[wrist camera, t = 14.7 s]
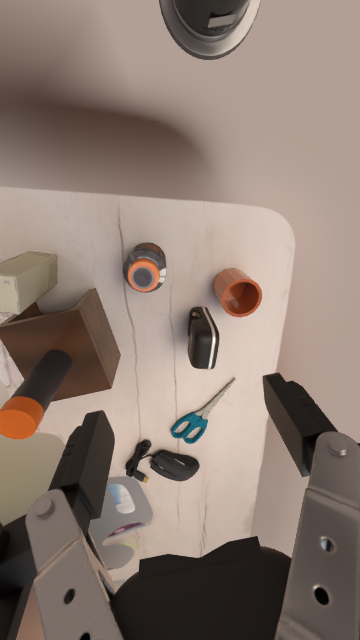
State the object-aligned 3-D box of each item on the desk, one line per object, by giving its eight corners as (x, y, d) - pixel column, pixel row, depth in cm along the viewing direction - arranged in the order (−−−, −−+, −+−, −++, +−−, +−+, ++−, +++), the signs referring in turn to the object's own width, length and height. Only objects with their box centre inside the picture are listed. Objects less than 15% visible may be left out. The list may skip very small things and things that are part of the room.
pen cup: (210, 272, 44) (219, 283, 37) (245, 264, 43) (260, 274, 37) (215, 305, 46) (224, 320, 40) (249, 297, 46) (263, 312, 40)
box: (28, 250, 40) (-26, 268, 28) (57, 254, 41) (16, 274, 29) (31, 282, 42) (-19, 311, 30) (58, 286, 43) (19, 316, 31)
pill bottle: (171, 252, 42) (175, 267, 31) (156, 283, 44) (155, 307, 33) (138, 235, 40) (131, 244, 30) (124, 268, 42) (112, 287, 32)
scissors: (168, 434, 57) (223, 372, 51) (168, 431, 58) (222, 370, 52) (192, 445, 59) (247, 386, 53) (192, 442, 60) (246, 383, 54)
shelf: (28, 303, 44) (-6, 328, 34) (95, 287, 43) (78, 309, 34) (61, 368, 49) (39, 404, 40) (120, 355, 49) (111, 388, 40)
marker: (37, 352, 36) (-15, 414, 26) (65, 346, 36) (24, 405, 25) (50, 375, 38) (5, 442, 27) (76, 369, 38) (42, 434, 27)
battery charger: (187, 304, 46) (194, 332, 35) (207, 305, 46) (221, 334, 36) (183, 338, 49) (189, 374, 38) (202, 339, 49) (214, 374, 38)
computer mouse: (177, 488, 67) (178, 504, 63) (118, 468, 62) (115, 484, 59) (203, 460, 63) (206, 476, 60) (142, 437, 58) (141, 452, 55)
